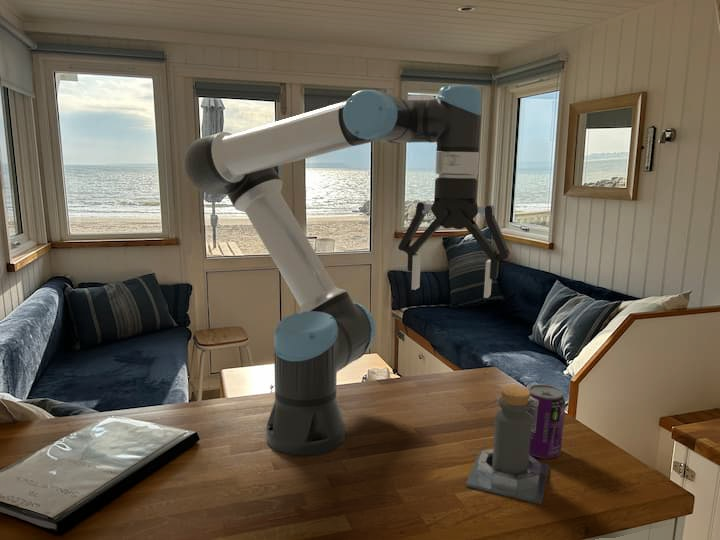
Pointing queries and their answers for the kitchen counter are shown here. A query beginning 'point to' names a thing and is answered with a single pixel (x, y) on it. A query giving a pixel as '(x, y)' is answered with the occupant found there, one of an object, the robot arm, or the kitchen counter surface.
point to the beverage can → (546, 420)
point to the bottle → (512, 432)
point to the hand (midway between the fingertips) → (450, 292)
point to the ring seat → (508, 479)
